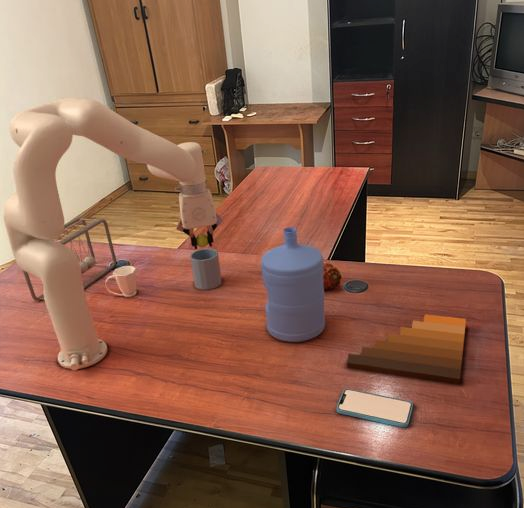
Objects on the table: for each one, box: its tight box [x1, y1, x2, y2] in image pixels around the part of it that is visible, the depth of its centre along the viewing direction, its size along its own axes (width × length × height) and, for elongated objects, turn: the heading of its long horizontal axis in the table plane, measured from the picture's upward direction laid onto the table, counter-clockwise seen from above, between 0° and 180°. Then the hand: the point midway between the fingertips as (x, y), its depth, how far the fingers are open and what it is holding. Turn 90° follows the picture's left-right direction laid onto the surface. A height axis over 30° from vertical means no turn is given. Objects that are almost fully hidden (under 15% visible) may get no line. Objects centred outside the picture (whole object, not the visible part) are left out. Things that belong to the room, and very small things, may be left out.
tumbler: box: [189, 248, 223, 291], centre depth 169 cm, size 9×9×10 cm
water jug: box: [260, 226, 326, 343], centre depth 139 cm, size 16×16×28 cm
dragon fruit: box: [323, 262, 342, 290], centre depth 162 cm, size 8×8×12 cm
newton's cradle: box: [21, 216, 117, 302], centre depth 175 cm, size 30×10×18 cm, turn 156°
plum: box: [195, 233, 209, 248], centre depth 165 cm, size 4×4×4 cm
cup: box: [105, 265, 138, 298], centre depth 168 cm, size 7×10×8 cm
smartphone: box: [336, 388, 414, 428], centre depth 116 cm, size 8×1×15 cm
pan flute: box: [346, 314, 467, 385], centre depth 133 cm, size 25×3×25 cm
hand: (202, 245), depth 166 cm, fingers closed on plum, 3 cm apart
